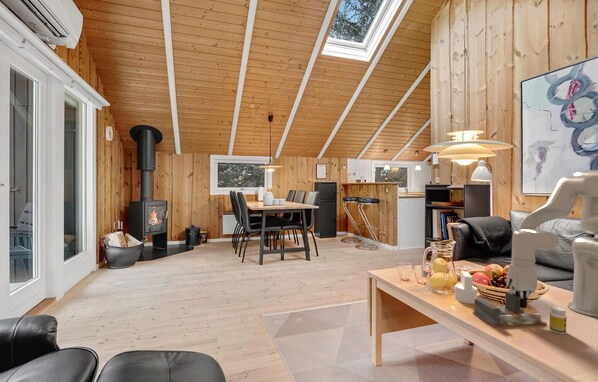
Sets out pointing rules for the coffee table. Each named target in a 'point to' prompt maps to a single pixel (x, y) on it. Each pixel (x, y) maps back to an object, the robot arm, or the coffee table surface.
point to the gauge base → (504, 316)
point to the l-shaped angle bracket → (511, 305)
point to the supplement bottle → (558, 320)
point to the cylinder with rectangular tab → (465, 289)
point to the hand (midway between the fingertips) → (521, 306)
